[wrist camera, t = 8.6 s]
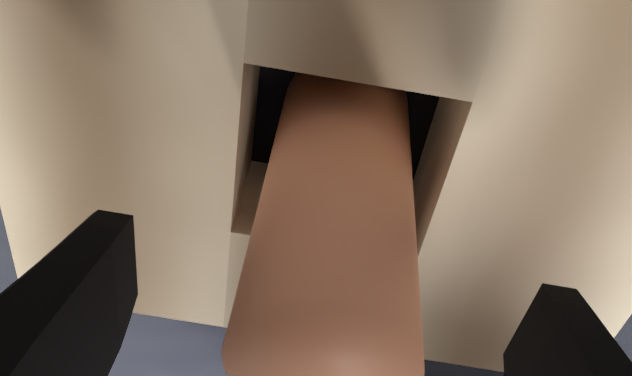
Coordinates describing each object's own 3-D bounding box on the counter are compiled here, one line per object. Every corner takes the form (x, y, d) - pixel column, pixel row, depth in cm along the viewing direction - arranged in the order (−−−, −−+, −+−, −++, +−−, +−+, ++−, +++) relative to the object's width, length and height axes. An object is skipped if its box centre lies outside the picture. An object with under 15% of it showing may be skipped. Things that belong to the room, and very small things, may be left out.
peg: (425, 68, 15) (455, 326, 9) (386, 168, 17) (389, 438, 11) (298, 36, 15) (236, 279, 8) (274, 142, 17) (210, 401, 10)
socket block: (788, -84, 12) (885, -35, 10) (556, 303, 20) (580, 384, 17) (-5, -227, 12) (-102, -212, 9) (65, 223, 19) (21, 294, 17)
